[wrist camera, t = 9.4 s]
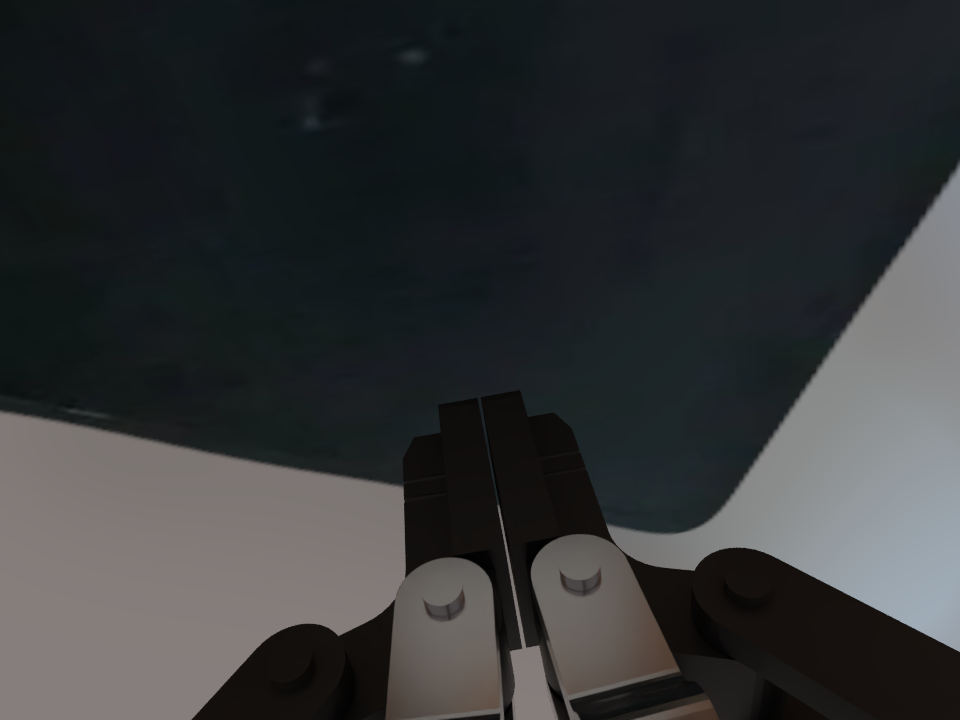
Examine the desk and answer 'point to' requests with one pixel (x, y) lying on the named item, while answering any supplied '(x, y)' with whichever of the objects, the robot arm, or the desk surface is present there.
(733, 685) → the robot arm
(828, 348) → the desk surface
